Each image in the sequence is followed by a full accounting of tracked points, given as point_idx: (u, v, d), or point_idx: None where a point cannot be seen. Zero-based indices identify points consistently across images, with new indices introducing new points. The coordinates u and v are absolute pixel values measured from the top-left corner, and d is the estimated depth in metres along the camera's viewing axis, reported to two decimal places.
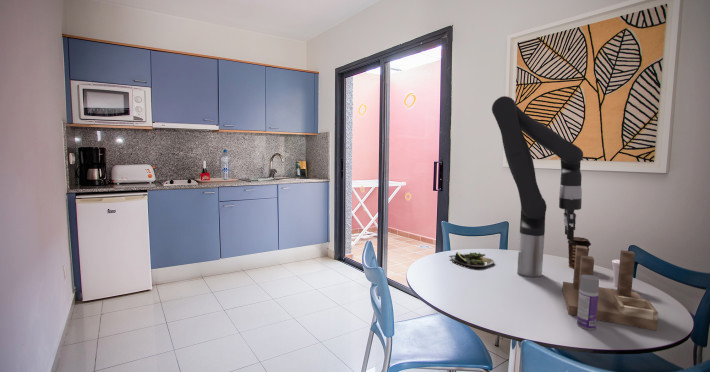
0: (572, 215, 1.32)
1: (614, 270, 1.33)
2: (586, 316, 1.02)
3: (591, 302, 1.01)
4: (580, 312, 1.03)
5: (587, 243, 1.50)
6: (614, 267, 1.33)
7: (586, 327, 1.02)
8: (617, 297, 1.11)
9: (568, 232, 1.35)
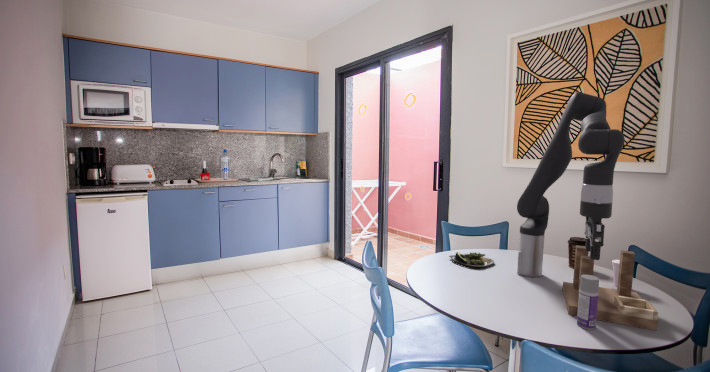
0: (600, 226, 0.94)
1: (614, 270, 1.33)
2: (586, 316, 1.02)
3: (591, 302, 1.01)
4: (580, 312, 1.03)
5: None
6: (614, 267, 1.33)
7: (586, 327, 1.02)
8: (617, 297, 1.11)
9: (592, 249, 0.97)
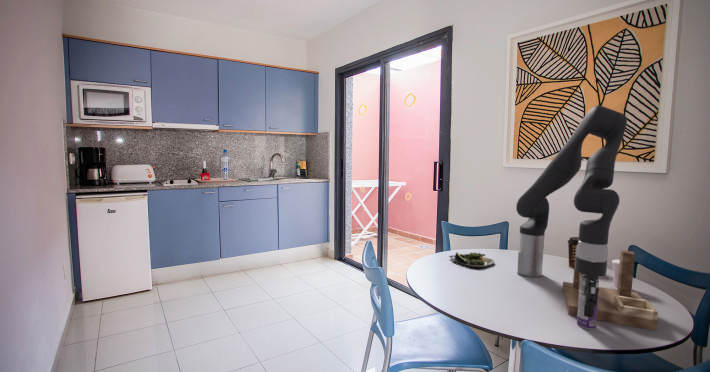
0: (594, 289, 0.96)
1: (614, 270, 1.33)
2: None
3: None
4: (580, 312, 1.03)
5: None
6: (614, 267, 1.33)
7: (586, 327, 1.02)
8: (617, 297, 1.11)
9: (586, 307, 1.01)
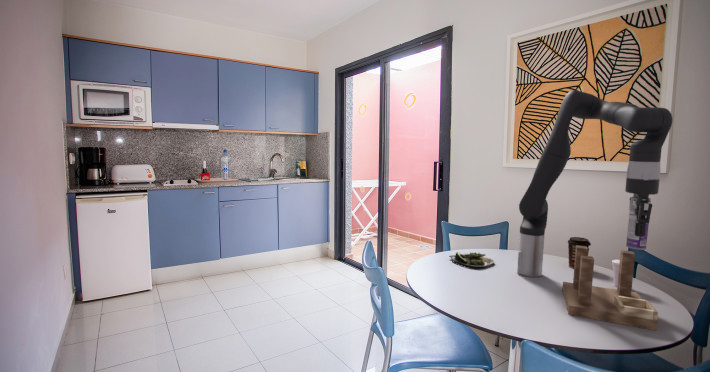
0: (647, 205, 0.97)
1: (614, 270, 1.33)
2: (637, 236, 1.02)
3: None
4: (630, 234, 1.04)
5: (587, 243, 1.50)
6: (614, 267, 1.33)
7: (637, 247, 1.03)
8: (617, 297, 1.11)
9: (637, 226, 1.01)
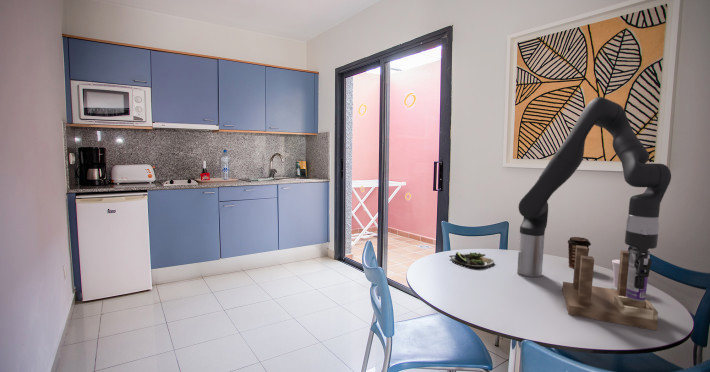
0: (647, 261, 0.99)
1: (614, 270, 1.33)
2: (636, 288, 1.04)
3: None
4: (630, 285, 1.06)
5: (587, 243, 1.50)
6: (614, 267, 1.33)
7: (636, 299, 1.05)
8: (617, 297, 1.11)
9: (637, 279, 1.03)
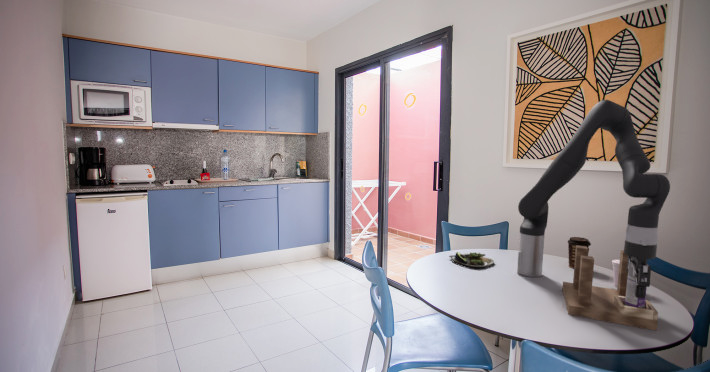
0: (646, 267, 0.99)
1: (614, 270, 1.33)
2: (635, 301, 1.05)
3: None
4: (628, 298, 1.06)
5: (587, 243, 1.50)
6: (614, 267, 1.33)
7: None
8: (617, 297, 1.11)
9: (638, 288, 1.02)
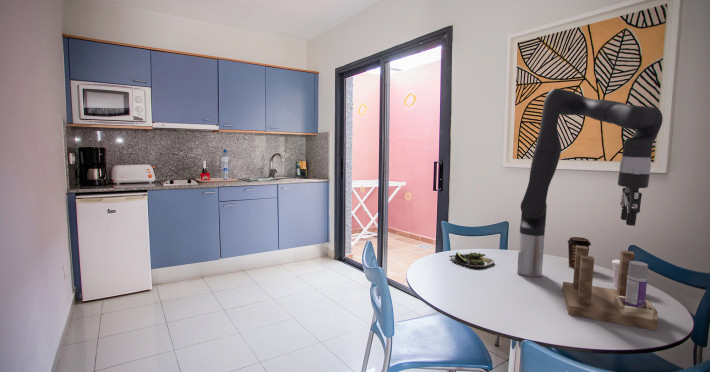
0: (637, 194, 1.04)
1: (614, 270, 1.33)
2: (635, 301, 1.05)
3: (640, 287, 1.04)
4: (628, 298, 1.06)
5: (587, 243, 1.50)
6: (614, 267, 1.33)
7: None
8: (617, 297, 1.11)
9: (629, 215, 1.07)
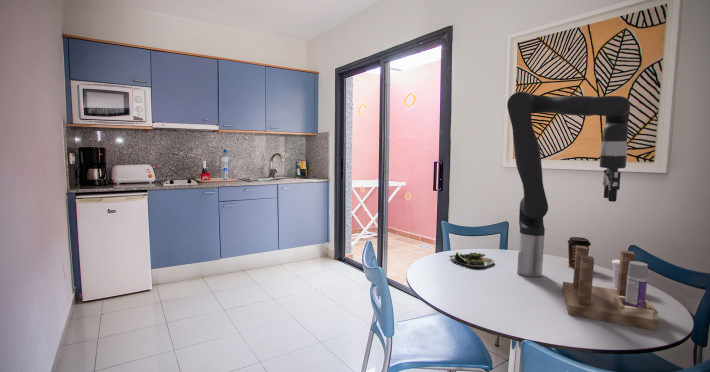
0: (617, 173, 1.18)
1: (614, 270, 1.33)
2: (635, 301, 1.05)
3: (640, 287, 1.04)
4: (628, 298, 1.06)
5: (587, 243, 1.50)
6: (614, 267, 1.33)
7: None
8: (617, 297, 1.11)
9: (610, 193, 1.21)
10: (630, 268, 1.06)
